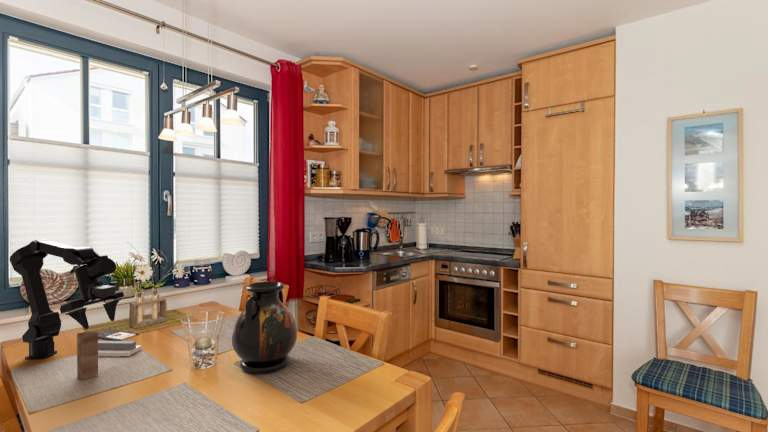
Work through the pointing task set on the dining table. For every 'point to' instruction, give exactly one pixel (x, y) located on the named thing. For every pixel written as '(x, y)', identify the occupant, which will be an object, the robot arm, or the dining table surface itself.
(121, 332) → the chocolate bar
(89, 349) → the walnut baton
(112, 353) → the board
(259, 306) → the amphora vase
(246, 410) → the dining table surface
